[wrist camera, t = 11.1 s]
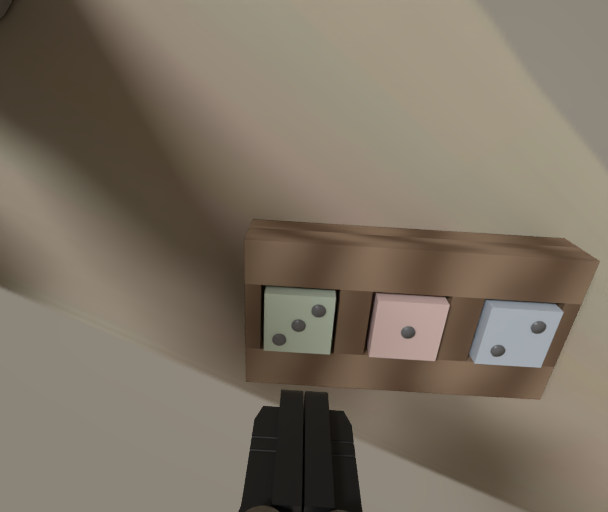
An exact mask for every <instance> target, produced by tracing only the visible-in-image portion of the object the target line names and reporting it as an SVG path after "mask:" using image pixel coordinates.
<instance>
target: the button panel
mask: <svg viewBox="0 0 608 512" xmlns="http://www.w3.org/2000/svg"><path fill="white" fill-rule="evenodd" d="M599 262H600V261H599V260H597V259H596V258H594V257H592V256H591V255H589V254H588V253H586V252H585V251H583V250H582V249H580V248H579V247H577V246H576V245H574V244H572V243H571V242H569V241H568V240H566V239H565V238H549V237H533V236H517V235H500V234H484V233H468V232H452V231H435V230H419V229H403V228H387V227H370V226H354V225H338V224H322V223H305V222H289V221H273V220H257V219H253V220H252V223H251V225H250V227H249V229H248V232H247V234H246V236H245V239H244V266H245V344H246V382H261V383H278V384H294V385H310V386H326V387H342V388H359V389H375V390H391V391H407V392H424V393H440V394H456V395H472V396H489V397H505V398H521V399H537V400H540V399H541V396H542V394H543V392H544V389H545V387H546V385H547V382H548V380H549V378H550V376H551V373H552V371H553V369H554V366H555V364H556V362H557V359H558V357H559V355H560V352H561V350H562V348H563V345H564V343H565V341H566V339H567V336H568V334H569V332H570V329H571V327H572V325H573V322H574V320H575V318H576V315H577V313H578V311H579V308H580V306H581V304H582V302H583V299H584V297H585V295H586V292H587V290H588V288H589V285H590V283H591V281H592V278H593V276H594V274H595V271H596V269H597V267H598V265H599ZM266 285H273V286H289V287H305V288H321V289H335V292H336V303H335V312H334V322H333V331H332V340H331V350H330V355H328V354H311V353H295V352H279V351H264V294H265V289H266ZM373 292H386V293H403V294H419V295H435V296H445V298H446V299H447V301H448V303H449V304H450V306H449V310H448V314H447V318H446V322H445V326H444V330H443V333H442V337H441V341H440V345H439V349H438V353H437V357H436V360H435V361H424V360H408V359H392V358H376V357H369V354H368V349H367V344H366V333H367V327H368V320H369V314H370V307H371V301H372V294H373ZM485 299H500V300H516V301H533V302H549V303H555V304H556V305H557V306H558V307H559V308H560V309H561V310H562V311H563V312H564V313H563V315H562V318H561V320H560V322H559V325H558V327H557V330H556V332H555V335H554V337H553V339H552V342H551V344H550V347H549V349H548V351H547V354H546V356H545V359H544V361H543V364H542V366H541V368H536V367H520V366H504V365H487V364H474V362H473V360H472V358H471V356H470V355H469V350H470V347H471V343H472V340H473V337H474V333H475V330H476V327H477V324H478V320H479V317H480V314H481V310H482V307H483V304H484V300H485Z"/></svg>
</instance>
